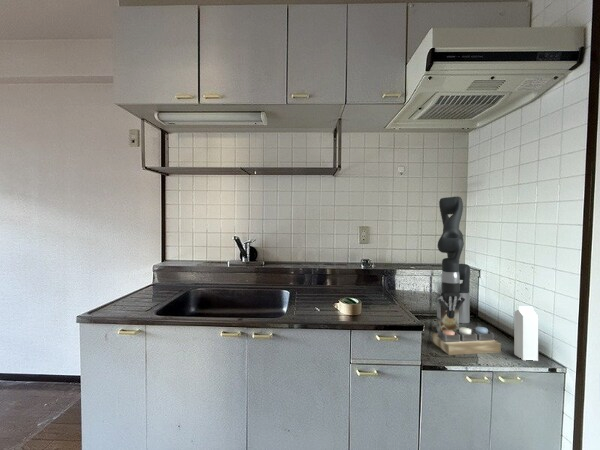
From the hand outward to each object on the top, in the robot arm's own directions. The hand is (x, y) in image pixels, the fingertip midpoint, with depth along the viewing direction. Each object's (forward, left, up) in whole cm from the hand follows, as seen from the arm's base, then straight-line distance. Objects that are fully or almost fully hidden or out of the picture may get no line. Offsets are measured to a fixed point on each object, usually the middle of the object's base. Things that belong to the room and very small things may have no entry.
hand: (450, 318), depth 139 cm
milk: (+13, +26, -14) cm, 32 cm away
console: (0, +7, -14) cm, 15 cm away
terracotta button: (0, -1, -9) cm, 9 cm away
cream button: (0, +7, -8) cm, 10 cm away
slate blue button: (0, +15, -8) cm, 17 cm away
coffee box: (-18, +9, -14) cm, 24 cm away
